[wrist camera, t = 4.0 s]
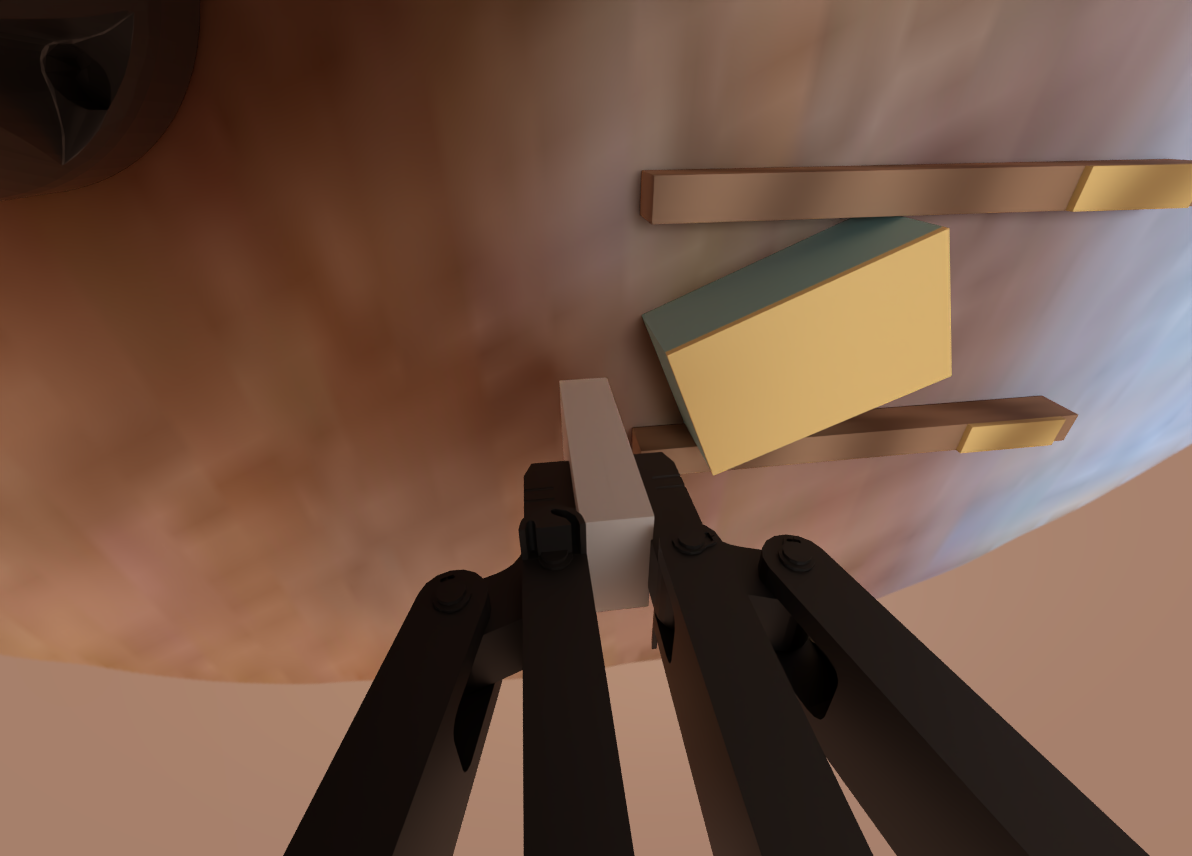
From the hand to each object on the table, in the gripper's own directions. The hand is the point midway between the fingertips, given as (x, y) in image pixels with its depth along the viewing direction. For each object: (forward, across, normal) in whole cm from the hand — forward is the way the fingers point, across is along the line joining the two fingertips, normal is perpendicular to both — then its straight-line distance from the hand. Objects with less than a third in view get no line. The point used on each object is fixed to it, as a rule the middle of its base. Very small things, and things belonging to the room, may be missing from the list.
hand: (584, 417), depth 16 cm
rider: (+6, +9, 0) cm, 11 cm away
